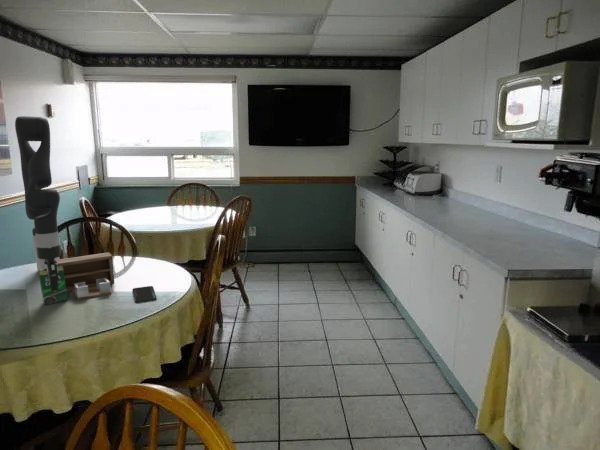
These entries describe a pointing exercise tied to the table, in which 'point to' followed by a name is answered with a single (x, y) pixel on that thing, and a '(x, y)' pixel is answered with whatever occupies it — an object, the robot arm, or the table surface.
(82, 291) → the grey open rectangular frame
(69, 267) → the walnut cabinet
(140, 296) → the phone
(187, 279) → the table surface
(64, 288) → the coffee box
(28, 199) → the robot arm
